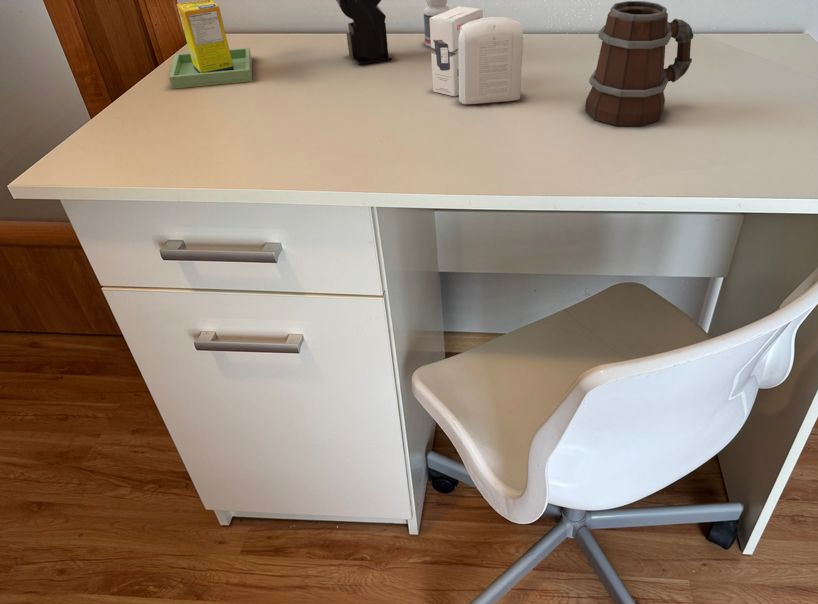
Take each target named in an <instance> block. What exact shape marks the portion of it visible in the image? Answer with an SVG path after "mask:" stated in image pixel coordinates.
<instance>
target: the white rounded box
mask: <svg viewBox="0 0 818 604" xmlns="http://www.w3.org/2000/svg"><path fill="white" fill-rule="evenodd" d="M523 47H524V34H523V26H522V23H521V22H520V21H518V20H515V19H513V18H509V17H503V16H501V17H499V16H490V17H483V18H481V19H477V20H474V21H471V22H468V23H466V24H464V25H462V26H461V27H460V33H459V39H458V48H459V95H458V101H459V102H460V104H462V105H476V104H478V105H479V104H490V103H499V102H510V101H511V102H513V101H519V100H520V99H521V91H522V89H521V88H522V69H523V68H522V67H523Z"/></svg>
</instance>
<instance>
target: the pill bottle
mask: <svg viewBox="0 0 818 604" xmlns="http://www.w3.org/2000/svg"><path fill="white" fill-rule="evenodd" d="M425 3H426V5H427V6H425V7H424V8H423V21H424V22H423V23H424V27H423V28H424V43H425V44H424V45H425V46H427V47H430V48H431V39H430V18H431V17H433V16H436V15H438V14H441V13H443V12H446V11H449V10H451V8H450V7H449V6H448V5H447V4H448V0H425Z"/></svg>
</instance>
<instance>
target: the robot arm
mask: <svg viewBox="0 0 818 604" xmlns="http://www.w3.org/2000/svg"><path fill="white" fill-rule="evenodd" d="M335 1H336V3H337V5H338V7H339V8H340V11H341V12H342V13H343V14H344V15H345V16H346V17H347V18H349V19H351V20H352V22H348V23H347V25H348V26H347V27H348V32H347V33H346V40H347V41H346V42H347V49H348V56H349V57H350V59H352V60H353V61H355V63H356V64H358V65H359V66H361V65H362V66H363V65H368V64H373V63H380V62H387V61H392V60H393V58H392V56H391V55H390V54H389V47H388V35H387V23H386V18H387V17H386V14H385V13H384V12H383V10H382V9H381V8H380V7H379V4H380V3H381V1H382V0H335Z"/></svg>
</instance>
